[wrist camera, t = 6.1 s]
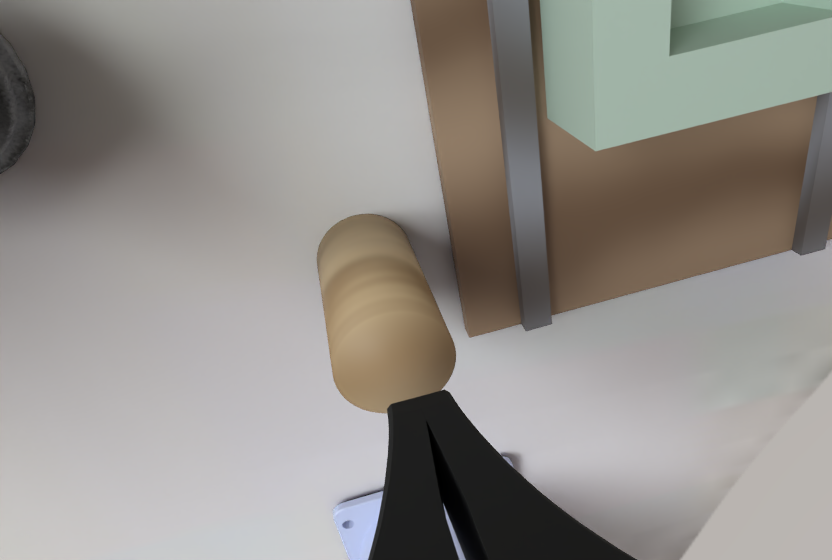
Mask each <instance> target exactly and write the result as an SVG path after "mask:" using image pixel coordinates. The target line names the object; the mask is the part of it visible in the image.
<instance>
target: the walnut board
mask: <svg viewBox="0 0 832 560" xmlns="http://www.w3.org/2000/svg"><path fill="white" fill-rule="evenodd" d="M411 6H412V12H413V18H414V24H415V30H416V36H417V42H418V48H419V54H420V60H421V66H422V72H423V78H424V84H425V90H426V96H427V102H428V108H429V114H430V120H431V126H432V132H433V138H434V144H435V150H436V156H437V162H438V168H439V174H440V180H441V186H442V192H443V198H444V204H445V210H446V216H447V222H448V228H449V234H450V240H451V246H452V252H453V258H454V264H455V270H456V276H457V282H458V288H459V294H460V300H461V306H462V312H463V318H464V324H465V329H466V331H467V333H468V335H469V337H470V338H471V337H474V336H478V335H482V334H485V333H489V332H493V331H496V330H500V329H504V328H507V327H511V326H515V325H518V324H522V326H523V327H524V329H525V330H526V331H529V330H532V329H536V328H539V327H543V326H547V325H550V324H552V319H551V315H555V314H558V313H562V312H566V311H569V310H573V309H577V308H580V307H584V306H588V305H591V304H595V303H599V302H602V301H606V300H610V299H613V298H617V297H620V296H624V295H628V294H631V293H635V292H639V291H642V290H646V289H650V288H653V287H657V286H661V285H664V284H668V283H672V282H675V281H679V280H683V279H686V278H690V277H694V276H697V275H701V274H705V273H708V272H712V271H715V270H719V269H723V268H726V267H730V266H734V265H737V264H741V263H745V262H748V261H752V260H756V259H759V258H763V257H767V256H770V255H774V254H778V253H781V252H785V251H789V250H793V251H794V252H796V253H798V254H799V255H805V254H809V253H812V252H816V251H819V250H823V249H825V246H826V241H827V240H829V239H832V92H829V93H825V94H822V95H818V96H814V97H810V98H806V99H802V100H798V101H794V102H790V103H786V104H782V105H778V106H774V107H770V108H766V109H762V110H758V111H754V112H750V113H746V114H742V115H738V116H734V117H730V118H726V119H722V120H718V121H714V122H710V123H706V124H702V125H698V126H694V127H690V128H686V129H682V130H678V131H674V132H670V133H666V134H662V135H658V136H654V137H650V138H647V139H643V140H639V141H635V142H631V143H627V144H623V145H619V146H615V147H611V148H607V149H603V150H599V151H594V150H593V149H591V148H590V147H589V146H587V145H586V144H584V143H583V142H581V141H580V140H578V139H577V138H575V137H574V136H573V135H571V134H570V133H568V132H567V131H565V130H564V129H562V128H561V127H559V126H558V125H557V124H555V123H554V122H552V121H551V120H549V119H548V118H547V106H546V90H545V75H544V59H543V43H542V28H541V12H540V0H411Z"/></svg>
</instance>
